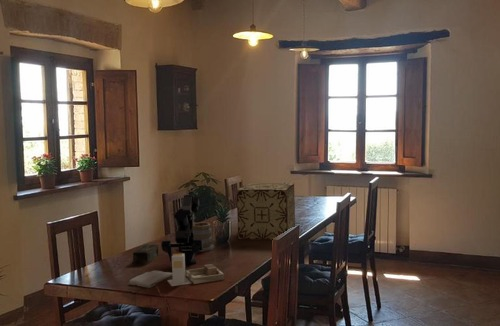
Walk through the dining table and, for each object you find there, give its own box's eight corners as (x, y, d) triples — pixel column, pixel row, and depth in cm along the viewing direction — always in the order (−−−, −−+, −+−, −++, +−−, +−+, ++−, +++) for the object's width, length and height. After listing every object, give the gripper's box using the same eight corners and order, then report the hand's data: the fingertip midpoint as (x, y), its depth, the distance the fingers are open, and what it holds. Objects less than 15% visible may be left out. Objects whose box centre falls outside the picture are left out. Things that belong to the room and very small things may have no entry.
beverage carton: (159, 255, 276) (158, 243, 275) (147, 265, 257) (147, 252, 256) (145, 255, 277) (144, 243, 276) (132, 265, 258) (131, 252, 257)
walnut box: (204, 273, 237) (203, 264, 237) (212, 272, 239) (212, 263, 239) (208, 277, 231) (208, 268, 231) (217, 276, 232) (216, 267, 232)
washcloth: (174, 277, 236) (174, 271, 236) (149, 289, 220) (149, 282, 220) (154, 274, 241) (154, 268, 241) (128, 286, 226) (128, 279, 225)
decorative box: (238, 239, 307) (236, 189, 305) (250, 228, 336) (248, 183, 334) (287, 240, 300) (286, 189, 298) (295, 229, 329) (294, 183, 327)
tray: (185, 276, 235) (185, 270, 235) (214, 272, 241) (214, 266, 240) (194, 285, 222) (193, 278, 222) (224, 280, 228) (224, 274, 227)
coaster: (167, 281, 229) (167, 280, 229) (186, 278, 232) (186, 277, 232) (171, 287, 220) (171, 286, 220) (192, 284, 224) (191, 283, 224)
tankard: (217, 249, 284) (216, 222, 283) (196, 252, 278) (195, 225, 276) (201, 242, 301) (200, 217, 300) (181, 245, 295) (180, 220, 293)
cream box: (174, 280, 229) (173, 253, 228) (185, 279, 229) (184, 253, 228) (172, 283, 223) (171, 256, 222) (184, 283, 223) (183, 256, 222)
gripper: (160, 223, 236) (157, 253, 226) (201, 222, 236) (199, 252, 226) (164, 236, 245) (161, 265, 235) (203, 235, 245) (202, 264, 235)
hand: (180, 261), depth 233 cm, fingers open, 9 cm apart
